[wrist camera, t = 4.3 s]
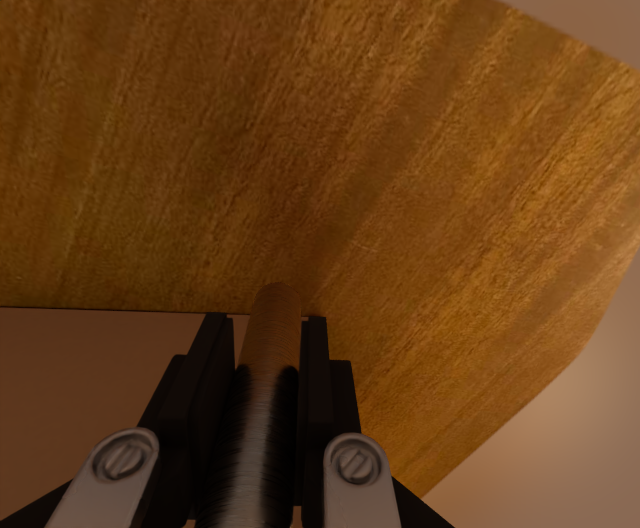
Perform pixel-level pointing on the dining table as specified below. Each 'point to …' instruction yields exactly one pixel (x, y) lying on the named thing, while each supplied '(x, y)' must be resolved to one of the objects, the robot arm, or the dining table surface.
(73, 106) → the dining table surface
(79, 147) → the dining table surface
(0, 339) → the door
